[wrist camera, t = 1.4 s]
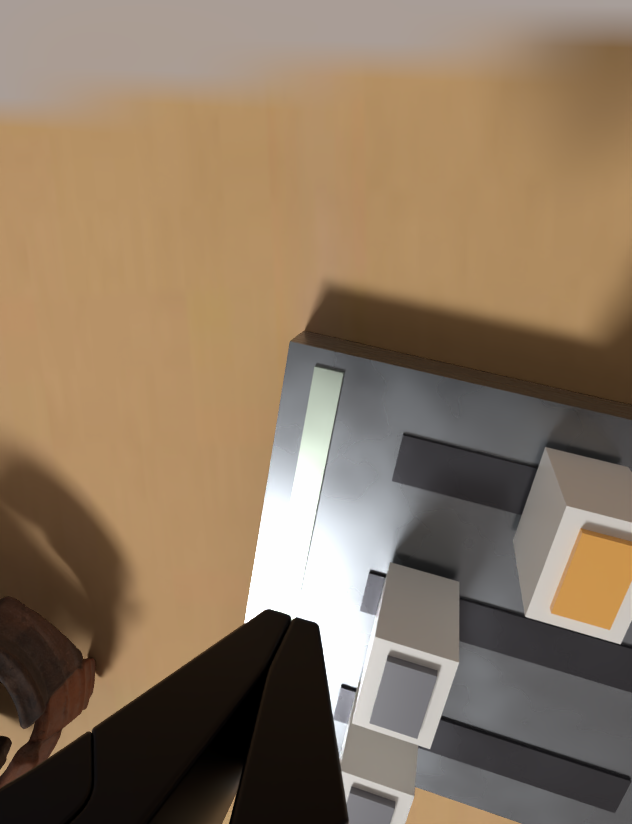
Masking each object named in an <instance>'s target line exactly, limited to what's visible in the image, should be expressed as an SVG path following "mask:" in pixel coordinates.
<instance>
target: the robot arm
mask: <svg viewBox="0 0 632 824" xmlns="http://www.w3.org/2000/svg"><path fill="white" fill-rule="evenodd" d="M236 793H237V794H236ZM235 795H236V798H235V802H234V806H233V810H232V814H231V818H230V822H229V824H349V817H348V810H347V804H346V797H345V791H344V784H343V778H342V771H341V765H340V758H339V751H338V745H337V738H336V732H335V725H334V719H333V712H332V706H331V699H330V693H329V686H328V679H327V673H326V666H325V660H324V653H323V647H322V640H321V634H320V628H319V625H318V624H317V623H316V622H313V621H309V620H306V619H303V618H300V617H294V618H293V619H292V618H291V616H290V615H289V614H287V613H284V612H280V611H277V610H274V609H269V608H268V609H265V610H263V611H262V612H261V613H259V614H258V615H256V616H255V617H253V618H252V619H250V620H249V621H248V622H246V623H245V624H243V625H242V626H240V627H239V628H237V629H236V630H234V631H233V632H232V633H230V634H229V635H227V636H226V637H224V638H223V639H221V640H220V641H219V642H217V643H216V644H214V645H213V646H211V647H210V648H208V649H207V650H205V651H204V652H203V653H201V654H200V655H198V656H197V657H195V658H194V659H192V660H191V661H190V662H188V663H187V664H185V665H184V666H182V667H181V668H179V669H178V670H176V671H175V672H174V673H172V674H171V675H169V676H168V677H166V678H165V679H163V680H162V681H161V682H159V683H158V684H156V685H155V686H153V687H152V688H150V689H149V690H148V691H146V692H145V693H143V694H142V695H140V696H139V697H137V698H136V699H134V700H133V701H132V702H130V703H129V704H127V705H126V706H124V707H123V708H121V709H120V710H119V711H117V712H116V713H114V714H113V715H111V716H110V717H108V718H107V719H105V720H104V721H103V722H101V723H100V724H98V725H97V726H95V727H94V728H93V729H92V733H91V732H86V733H85V734H83V735H82V736H80V737H79V738H78V739H76V740H75V741H73V742H72V743H70V744H69V745H67V746H66V747H64V748H63V749H61V750H60V751H58V752H57V753H55V754H54V755H52V756H51V757H49V758H48V759H46V760H45V761H43V762H42V763H40V764H38V765H37V766H35V767H34V768H32V769H31V770H29V771H28V772H26V773H25V774H23V775H21V776H20V777H18V778H16V779H14V780H13V781H11V782H9V783H8V784H6V785H4V786H3V787H1V788H0V824H222V823H223V820H224V818H225V816H226V814H227V812H228V810H229V808H230V806H231V803H232V801H233V799H234V797H235Z"/></svg>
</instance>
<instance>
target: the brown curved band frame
mask: <svg viewBox="0 0 632 824" xmlns="http://www.w3.org/2000/svg"><path fill="white" fill-rule="evenodd" d="M94 681H95V660H94V659H93V658H90V659H89V658H87V659H83V656H82V653H81V651H80V650H79V649H77V648H76V647H75V646H74V644H72V642H71V641H70V640H69V639H68V638H67V637H66V636H64V635H63V634H62V633H61V632H60V631H59V630H58V629H56V628H55V627H54V626H53V625H52V624H51V623H50V622H48V621H47V620H46V619H45V618H43V617H42V616H41V615H39V614H38V613H37V612H35V611H33V610H31V609H29V608H28V607H26V606H25V605H24V604H22V603H21V602H20V601H19V600H17V599H15V598H12V597H4V598H2V599H1V600H0V682H1V683H3V685H4V686H5V687H6V689H7V691H8V692H9V694H10V696H11V698H12V699H13V702H14V704H15V706H16V709H17V712H18V716H19V722H20V726H21V727H22V728H23V729H25V728H28V727H30V726H31V725H32V724H33V723H34V722H35V725H34V729H33V731H32V734H31V737H30V739H29V741H28V742H27V743H26V744H25V745H24V746H22V747H21V748H20V749H19V750H18V751H17V753H16V754H15V756H14V757H13V759H12V761H11V762H10V764H9V766H8V767H7V769H6V770H5V772H4V773H3V774H2V775H1V776H0V788H1V787H3V786H4V785H6V784H8V783H9V782H11V781H13V780H14V779H16V778H18V777H20V776H21V775H23V774H25V773H26V772H28V771H29V770H31V769H32V768H34V767H35V766H37V765H38V764H40V763H42V762H43V761H45V760H46V759H47V758H48V757H49V756H50V754H51V752H52V751H53V749H54V747H55V746H56V744H57V741H58V740H59V738H60V735H61V731H62V729H63V728H64V727H65V726H66V725H67V724H69V723H70V722H71V721H72V720H73V719H75V718H76V717H77V716H78V715H80V714H81V712H82V710H84V709H86V708H87V705H88V702H89V698H90V697H91V695H92V693H93V688H94ZM11 744H12V742H11V740H10V739H9V738H8V737H5V736H0V769H1V768H2V766H3V765H4V764H5V762H6V757H7V754H8V752H9V750H10V747H11Z"/></svg>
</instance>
